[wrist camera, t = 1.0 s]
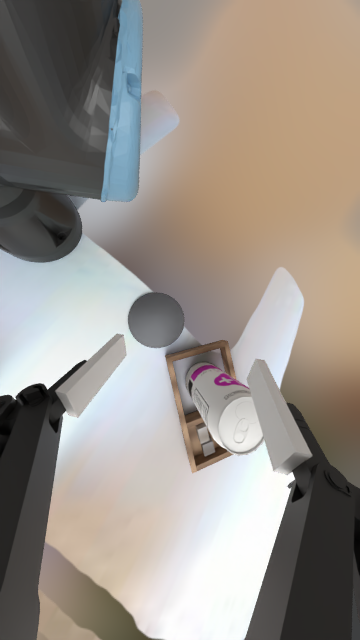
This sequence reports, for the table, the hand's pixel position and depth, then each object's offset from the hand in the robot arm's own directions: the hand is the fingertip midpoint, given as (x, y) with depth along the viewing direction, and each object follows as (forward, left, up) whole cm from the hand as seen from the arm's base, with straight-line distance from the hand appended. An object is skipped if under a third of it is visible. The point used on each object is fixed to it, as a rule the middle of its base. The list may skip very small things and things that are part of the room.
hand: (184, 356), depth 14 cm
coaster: (-5, -1, -17) cm, 18 cm away
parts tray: (+15, +6, -17) cm, 23 cm away
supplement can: (+11, +6, -17) cm, 21 cm away
